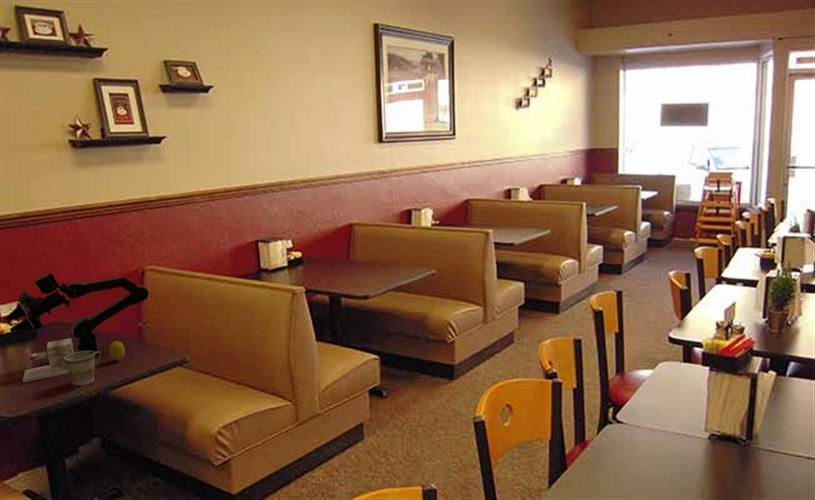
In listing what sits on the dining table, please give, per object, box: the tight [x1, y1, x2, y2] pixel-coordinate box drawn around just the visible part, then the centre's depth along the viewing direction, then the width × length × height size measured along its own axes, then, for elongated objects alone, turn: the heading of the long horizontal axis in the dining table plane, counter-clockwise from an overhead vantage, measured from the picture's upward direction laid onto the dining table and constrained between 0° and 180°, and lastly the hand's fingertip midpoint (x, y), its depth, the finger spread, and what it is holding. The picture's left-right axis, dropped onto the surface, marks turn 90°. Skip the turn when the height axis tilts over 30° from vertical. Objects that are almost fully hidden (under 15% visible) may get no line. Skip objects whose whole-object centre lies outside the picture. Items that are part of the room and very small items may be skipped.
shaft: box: [23, 347, 49, 369], centre depth 243 cm, size 10×6×6 cm, turn 116°
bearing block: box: [46, 337, 75, 372], centre depth 246 cm, size 8×8×10 cm
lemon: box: [108, 340, 126, 362], centre depth 253 cm, size 6×6×8 cm
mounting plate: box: [22, 364, 69, 383], centre depth 245 cm, size 18×12×1 cm, turn 116°
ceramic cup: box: [64, 350, 102, 387], centre depth 233 cm, size 13×10×10 cm
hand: (7, 325), depth 247 cm, fingers open, 9 cm apart
